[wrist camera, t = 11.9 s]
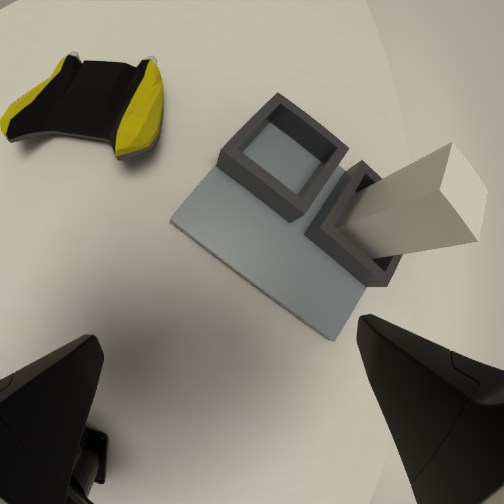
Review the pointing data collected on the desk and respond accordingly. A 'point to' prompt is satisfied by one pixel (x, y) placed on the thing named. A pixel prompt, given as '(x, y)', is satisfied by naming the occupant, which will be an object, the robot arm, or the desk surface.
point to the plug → (417, 207)
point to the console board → (287, 216)
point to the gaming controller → (93, 105)
